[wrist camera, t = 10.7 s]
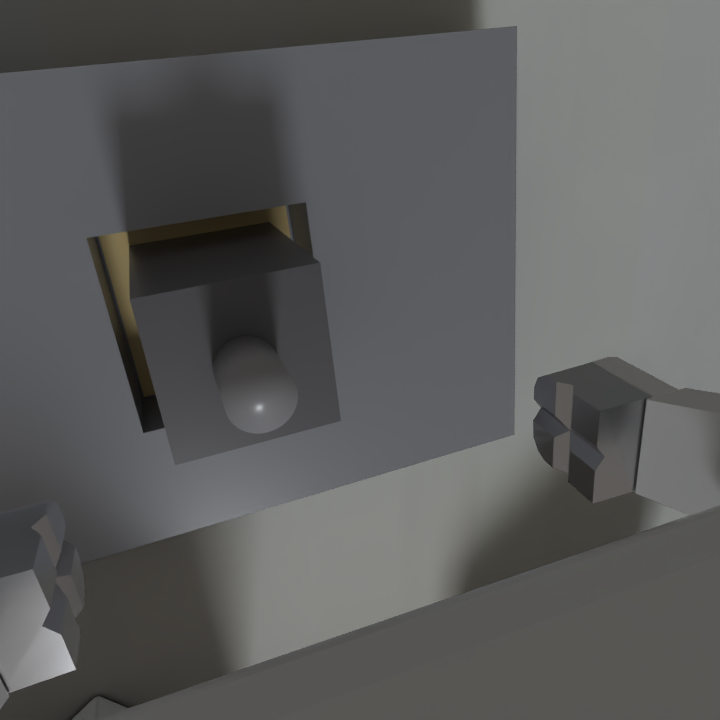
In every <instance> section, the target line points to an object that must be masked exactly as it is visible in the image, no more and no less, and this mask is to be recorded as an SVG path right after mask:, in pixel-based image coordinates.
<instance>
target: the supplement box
mask: <svg viewBox="0 0 720 720" xmlns="http://www.w3.org/2000/svg"><path fill="white" fill-rule="evenodd" d="M124 709H127V707H124V706H122V705H120V704H117V703H115V702H112V701H110V700H107V699H105V698H103V697H100V696H98V697H95V698H94V699H93V700H91V701H90V702H89V703H88V704H87V705H86V706H85V707H84V708H83V709H82V710H81V711H80V712H79V713H78V714H77V715H76V716H75V717H74V718H73V719H72V720H95V719H98V718H101V717H104V716H107V715H110V714H113V713H115V712H118V711H121V710H124Z"/></svg>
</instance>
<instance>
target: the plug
mask: <svg viewBox="0 0 720 720" xmlns="http://www.w3.org/2000/svg"><path fill="white" fill-rule="evenodd" d="M129 295H130V303H131V306H132V310H133V314H134V317H135V321H136V325H137V328H138V332H139V336H140V339H141V343H142V347H143V350H144V354H145V358H146V361H147V365H148V369H149V372H150V376H151V380H152V383H153V387H154V390H155V394H156V398H157V401H158V405H159V409H160V412H161V416H162V420H163V423H164V427H165V431H166V434H167V438H168V442H169V445H170V449H171V453H172V456H173V460H174V464H175V465H179V464H183V463H186V462H190V461H194V460H197V459H201V458H205V457H209V456H212V455H216V454H220V453H224V452H227V451H231V450H235V449H238V448H242V447H246V446H250V445H253V444H257V443H261V442H265V441H268V440H272V439H276V438H279V437H283V436H287V435H291V434H294V433H298V432H302V431H306V430H309V429H313V428H317V427H321V426H324V425H328V424H332V423H335V422H339V421H341V417H340V409H339V401H338V394H337V386H336V379H335V371H334V363H333V356H332V348H331V341H330V333H329V325H328V318H327V310H326V303H325V295H324V287H323V280H322V272H321V264H320V262H319V261H318V260H316V259H315V258H314V257H313V256H311V255H310V254H309V253H307V252H306V251H305V250H304V249H302V248H301V247H300V246H299V245H297V244H296V243H295V242H294V241H292V240H291V239H290V238H289V237H287V236H286V235H285V234H284V233H282V232H281V231H280V230H279V229H277V228H276V227H275V226H274V225H272V224H271V223H270V222H266V223H260V224H254V225H248V226H242V227H237V228H231V229H225V230H219V231H213V232H207V233H201V234H195V235H189V236H183V237H177V238H172V239H166V240H160V241H154V242H148V243H142V244H136V245H130V246H129Z"/></svg>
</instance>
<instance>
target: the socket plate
mask: <svg viewBox="0 0 720 720" xmlns="http://www.w3.org/2000/svg"><path fill="white" fill-rule="evenodd" d="M516 87H517V26H513V27H502V28H491V29H480V30H469V31H458V32H447V33H436V34H425V35H414V36H403V37H392V38H381V39H370V40H359V41H348V42H337V43H326V44H315V45H304V46H293V47H282V48H271V49H260V50H250V51H239V52H228V53H217V54H206V55H195V56H184V57H173V58H162V59H151V60H140V61H129V62H118V63H107V64H96V65H85V66H74V67H63V68H52V69H41V70H30V71H19V72H8V73H0V512H4V511H8V510H12V509H17V508H21V507H25V506H29V505H34V504H38V503H42V502H46V501H50V500H54V501H55V502H56V503H57V504H58V505H59V507H60V509H61V511H62V514H63V516H64V519H65V521H66V527H65V533H64V538H63V540H65V541H67V542H69V543H71V544H72V545H74V546H75V547H76V550H77V552H78V555H79V558H80V561H81V564H83V563H86V562H90V561H93V560H96V559H100V558H103V557H106V556H110V555H113V554H116V553H120V552H123V551H126V550H130V549H133V548H136V547H140V546H143V545H146V544H150V543H153V542H156V541H160V540H163V539H167V538H170V537H173V536H177V535H180V534H183V533H187V532H190V531H193V530H197V529H200V528H203V527H207V526H210V525H213V524H217V523H220V522H223V521H227V520H230V519H233V518H237V517H240V516H243V515H247V514H250V513H253V512H257V511H260V510H263V509H267V508H270V507H273V506H277V505H280V504H283V503H287V502H290V501H293V500H297V499H300V498H304V497H307V496H310V495H314V494H317V493H320V492H324V491H327V490H330V489H334V488H337V487H340V486H344V485H347V484H350V483H354V482H357V481H360V480H364V479H367V478H370V477H374V476H377V475H380V474H384V473H387V472H390V471H394V470H397V469H400V468H404V467H407V466H410V465H414V464H417V463H420V462H424V461H427V460H430V459H434V458H437V457H441V456H444V455H447V454H451V453H454V452H457V451H461V450H464V449H467V448H471V447H474V446H477V445H481V444H484V443H487V442H491V441H494V440H497V439H501V438H504V437H507V436H511V435H514V406H515V247H516ZM266 222H270V223H271V224H272V225H274V226H275V227H276V228H277V229H279V230H280V231H281V232H282V233H284V234H285V235H286V236H287V237H289V238H290V239H291V240H292V241H294V242H295V243H296V244H297V245H299V246H300V247H301V248H302V249H304V250H305V251H306V252H307V253H309V254H310V255H311V256H313V257H314V258H315V259H316V260H318V261H319V262H320V264H321V272H322V280H323V287H324V295H325V303H326V310H327V318H328V325H329V333H330V341H331V348H332V356H333V363H334V371H335V379H336V386H337V394H338V401H339V409H340V417H341V421H339V422H335V423H332V424H328V425H324V426H321V427H317V428H313V429H309V430H306V431H302V432H298V433H294V434H291V435H287V436H283V437H279V438H276V439H272V440H268V441H265V442H261V443H257V444H253V445H250V446H246V447H242V448H238V449H235V450H231V451H227V452H224V453H220V454H216V455H212V456H209V457H205V458H201V459H197V460H194V461H190V462H186V463H183V464H179V465H175V464H174V460H173V456H172V453H171V449H170V445H169V442H168V438H167V434H166V431H165V427H164V423H163V420H162V416H161V412H160V409H159V405H158V401H157V398H156V394H155V390H154V387H153V383H152V380H151V376H150V372H149V369H148V365H147V361H146V358H145V354H144V350H143V347H142V343H141V339H140V336H139V332H138V328H137V325H136V321H135V317H134V314H133V310H132V306H131V303H130V295H129V246H130V245H136V244H142V243H148V242H154V241H160V240H166V239H172V238H177V237H183V236H189V235H195V234H201V233H207V232H213V231H219V230H225V229H231V228H237V227H242V226H248V225H254V224H260V223H266Z"/></svg>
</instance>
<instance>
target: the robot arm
mask: <svg viewBox="0 0 720 720" xmlns="http://www.w3.org/2000/svg"><path fill="white" fill-rule="evenodd" d="M534 400H535V401H536V402H537V403H538V405H539V406H540V407H541V409H540V410H539V412H538V414H537V415H536V417H535V419H534V420H533V434H534V440H535V443H536V446H537V449H538V451H539V453H540V454H541V456H542V457H543V459H544V460H545V461H546V462H547V463H548V464H549V465H550V466H551V467H552V468H554V469H557V470H561V471H564V472H567V473H568V482H569V483H570V484H571V485H572V486H573V487H574V488H576V489H577V490H578V491H579V492H580V493H581V494H582V495H583V496H585V497H586V498H587V499H588V500H589V501H590V502H591V503H592V504H593V503H596V502H600V501H603V500H607V499H610V498H614V497H617V496H621V495H624V494H627V493H631V492H634V491H636V492H635V494H638V495H640V496H643V497H645V498H648V499H650V500H653V501H655V502H658V503H660V504H663V505H665V506H668V507H670V508H673V509H675V510H677V511H680V512H682V513H685V514H687V515H690V516H687V517H684V518H681V519H678V520H675V521H672V522H669V523H666V524H663V525H660V526H658V527H655V528H652V529H649V530H646V531H643V532H640V533H637V534H634V535H631V536H628V537H626V538H623V539H620V540H617V541H614V542H611V543H608V544H605V545H602V546H599V547H596V548H594V549H591V550H588V551H585V552H582V553H579V554H576V555H573V556H570V557H567V558H564V559H561V560H559V561H556V562H553V563H550V564H547V565H544V566H541V567H538V568H535V569H532V570H529V571H527V572H524V573H521V574H518V575H515V576H512V577H509V578H506V579H503V580H500V581H497V582H495V583H492V584H489V585H486V586H483V587H480V588H477V589H474V590H471V591H468V592H465V593H462V594H460V595H457V596H454V597H451V598H448V599H445V600H442V601H439V602H436V603H433V604H430V605H427V606H425V607H422V608H419V609H416V610H413V611H410V612H407V613H404V614H401V615H398V616H395V617H392V618H390V619H387V620H384V621H381V622H378V623H375V624H372V625H369V626H366V627H363V628H360V629H357V630H355V631H352V632H349V633H346V634H343V635H340V636H337V637H334V638H331V639H328V640H325V641H323V642H320V643H317V644H314V645H311V646H308V647H305V648H302V649H299V650H296V651H293V652H290V653H288V654H285V655H282V656H279V657H276V658H273V659H270V660H267V661H264V662H261V663H258V664H255V665H253V666H250V667H247V668H244V669H241V670H238V671H235V672H232V673H229V674H226V675H223V676H220V677H218V678H215V679H212V680H209V681H206V682H203V683H200V684H197V685H194V686H191V687H188V688H185V689H183V690H180V691H177V692H174V693H171V694H168V695H165V696H162V697H159V698H156V699H153V700H150V701H148V702H145V703H142V704H139V705H136V706H133V707H130V708H127V709H124V710H121V711H118V712H115V713H113V714H110V715H107V716H104V717H101V718H98V719H95V720H720V394H719V393H713V392H707V391H701V390H695V389H689V388H684V389H680V390H678V389H676V388H674V387H672V386H670V385H669V384H667V383H665V382H663V381H661V380H659V379H657V378H655V377H654V376H652V375H650V374H648V373H646V372H644V371H642V370H640V369H639V368H637V367H635V366H633V365H631V364H629V363H627V362H625V361H624V360H622V359H620V358H618V357H607V358H604V359H600V360H597V361H594V362H590V363H587V364H584V365H580V366H577V367H573V368H570V369H566V370H563V371H559V372H555V373H552V374H548V375H545V376H542V377H539V378H538V379H537V381H536V384H535V387H534ZM65 527H66V521H65V519H64V516H63V514H62V511H61V509H60V507H59V505H58V504H57V503H56V502H55V501H54V500H50V501H46V502H42V503H38V504H34V505H29V506H25V507H21V508H17V509H12V510H8V511H4V512H0V709H1V708H2V706H3V705H4V703H5V702H6V701H7V699H8V698H9V694H8V693H11V692H13V691H16V690H19V689H22V688H25V687H28V686H31V685H33V684H36V683H39V682H42V681H45V680H48V679H51V678H54V677H56V676H59V675H62V674H65V673H68V672H71V671H74V670H76V666H77V658H78V650H79V642H80V634H81V631H80V629H79V626H78V623H77V621H76V617H77V616H78V614H79V613H80V612H81V611H82V610H83V608H84V600H85V585H84V574H83V570H82V565H81V561H80V558H79V555H78V552H77V550H76V547H75V546H74V545H72V544H71V543H69V542H67V541H65V540H63V538H64V533H65Z"/></svg>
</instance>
